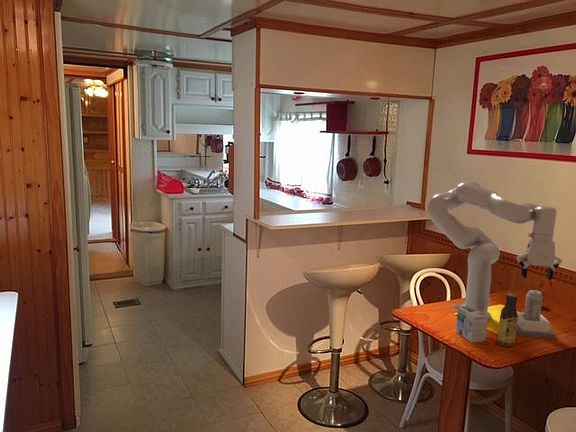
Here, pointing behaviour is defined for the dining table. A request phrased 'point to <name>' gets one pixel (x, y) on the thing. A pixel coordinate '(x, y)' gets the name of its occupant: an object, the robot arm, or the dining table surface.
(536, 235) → the robot arm
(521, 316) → the board
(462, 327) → the light bulb box
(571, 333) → the dining table surface
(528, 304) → the energy drink can
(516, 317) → the sauce bottle
